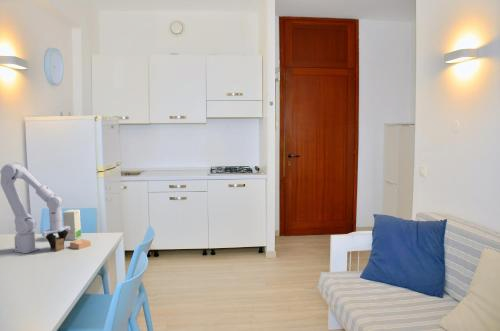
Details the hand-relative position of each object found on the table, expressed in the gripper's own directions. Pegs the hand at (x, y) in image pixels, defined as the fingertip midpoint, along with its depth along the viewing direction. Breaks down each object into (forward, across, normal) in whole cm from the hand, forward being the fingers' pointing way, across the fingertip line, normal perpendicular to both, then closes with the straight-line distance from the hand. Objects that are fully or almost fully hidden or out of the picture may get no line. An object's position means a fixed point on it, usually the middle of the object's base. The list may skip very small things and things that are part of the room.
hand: (57, 246), depth 211 cm
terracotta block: (+2, +9, -6) cm, 11 cm away
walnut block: (+1, 0, 0) cm, 1 cm away
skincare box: (+2, +18, +11) cm, 21 cm away
